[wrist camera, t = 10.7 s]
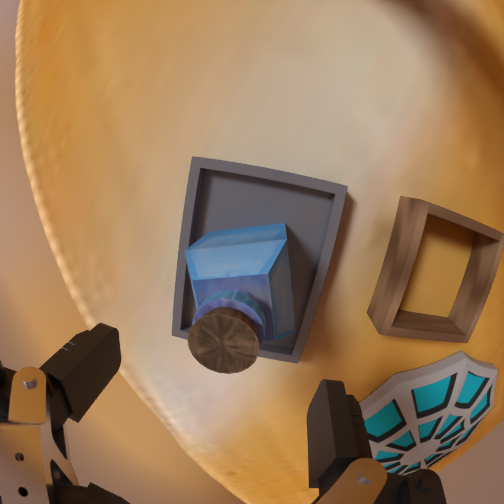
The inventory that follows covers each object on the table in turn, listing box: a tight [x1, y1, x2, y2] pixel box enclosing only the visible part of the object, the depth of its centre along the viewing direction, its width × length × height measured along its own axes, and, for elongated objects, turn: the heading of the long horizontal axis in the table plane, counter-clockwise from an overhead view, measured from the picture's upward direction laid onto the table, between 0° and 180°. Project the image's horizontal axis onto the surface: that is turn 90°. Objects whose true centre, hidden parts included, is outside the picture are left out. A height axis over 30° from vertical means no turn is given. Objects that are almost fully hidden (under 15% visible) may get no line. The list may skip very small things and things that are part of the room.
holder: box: [367, 196, 504, 343], centre depth 20 cm, size 11×11×4 cm
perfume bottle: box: [185, 223, 295, 374], centre depth 17 cm, size 6×6×12 cm
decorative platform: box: [359, 351, 498, 476], centre depth 26 cm, size 31×29×5 cm
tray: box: [172, 156, 348, 363], centre depth 23 cm, size 16×12×2 cm
